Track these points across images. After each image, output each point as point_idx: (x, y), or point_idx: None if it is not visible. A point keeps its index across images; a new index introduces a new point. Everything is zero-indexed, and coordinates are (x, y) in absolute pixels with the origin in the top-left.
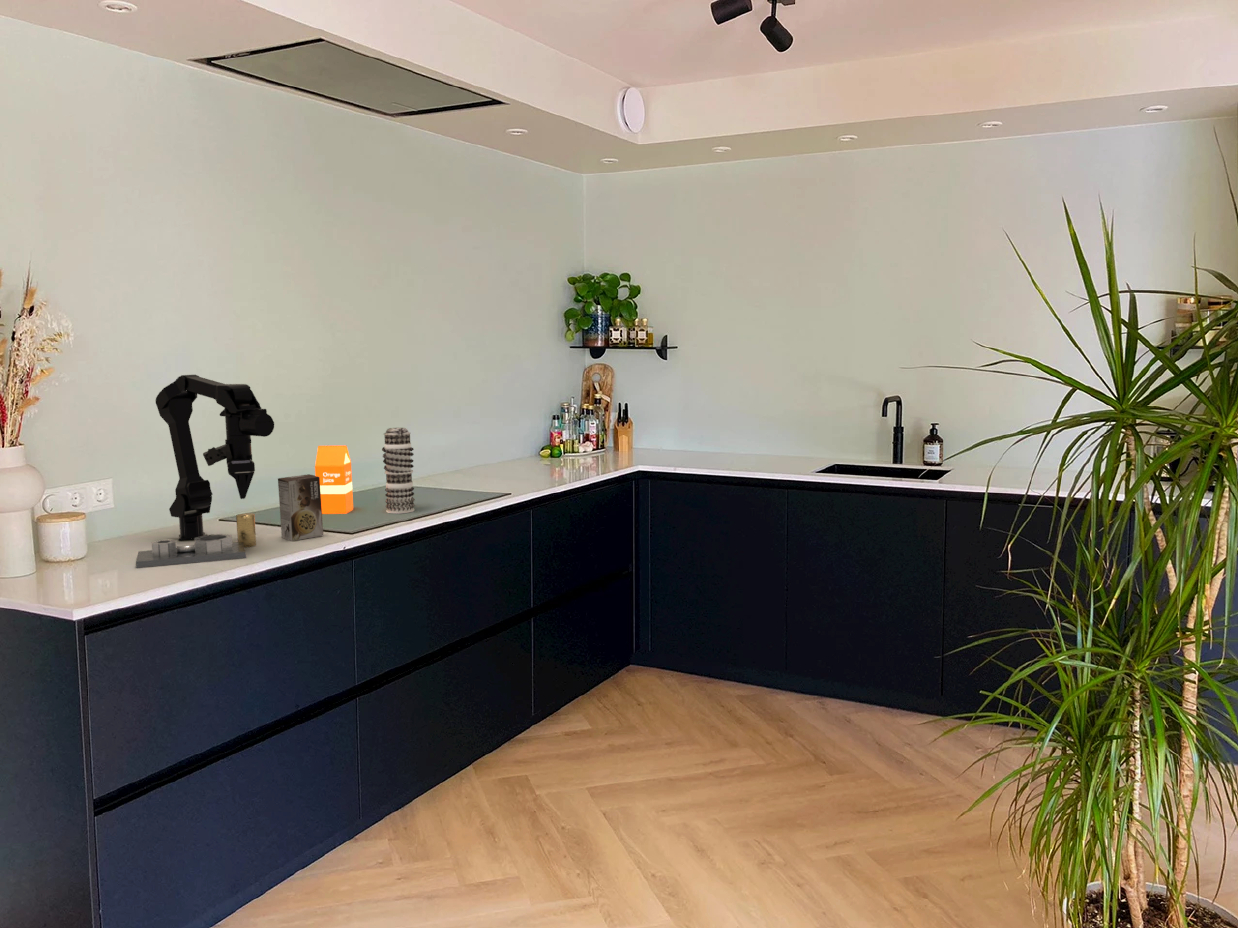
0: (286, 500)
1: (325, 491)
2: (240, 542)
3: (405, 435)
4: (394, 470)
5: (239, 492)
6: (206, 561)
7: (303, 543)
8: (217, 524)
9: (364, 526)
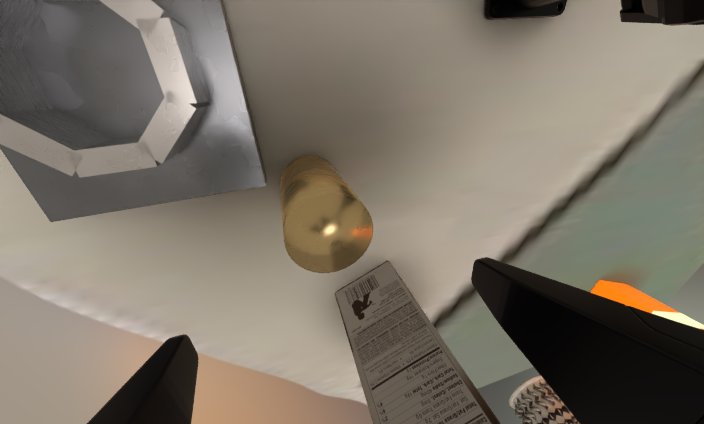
0: (395, 396)
1: None
2: (286, 172)
3: None
4: None
5: (108, 408)
6: None
7: (294, 322)
8: (664, 56)
9: None
